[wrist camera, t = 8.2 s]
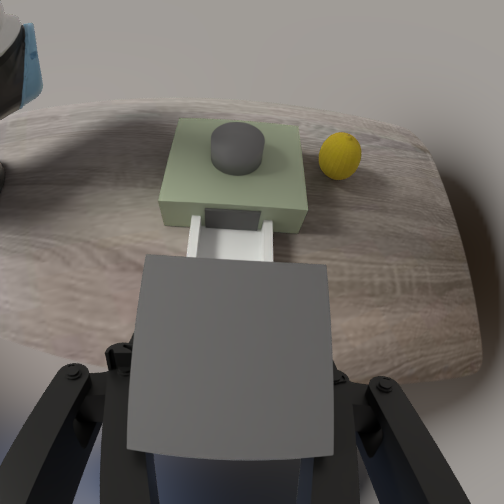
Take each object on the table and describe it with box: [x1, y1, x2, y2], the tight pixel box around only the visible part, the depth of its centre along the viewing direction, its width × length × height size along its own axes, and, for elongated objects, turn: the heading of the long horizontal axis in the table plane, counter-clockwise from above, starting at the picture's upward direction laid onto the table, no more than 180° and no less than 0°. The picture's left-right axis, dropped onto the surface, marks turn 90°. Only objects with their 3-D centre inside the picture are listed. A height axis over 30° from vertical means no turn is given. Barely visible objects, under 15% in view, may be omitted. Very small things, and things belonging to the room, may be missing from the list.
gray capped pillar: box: [127, 254, 334, 460], centre depth 13 cm, size 5×5×12 cm
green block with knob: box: [158, 118, 308, 262], centre depth 35 cm, size 22×16×8 cm
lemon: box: [319, 132, 361, 180], centre depth 39 cm, size 6×6×8 cm
